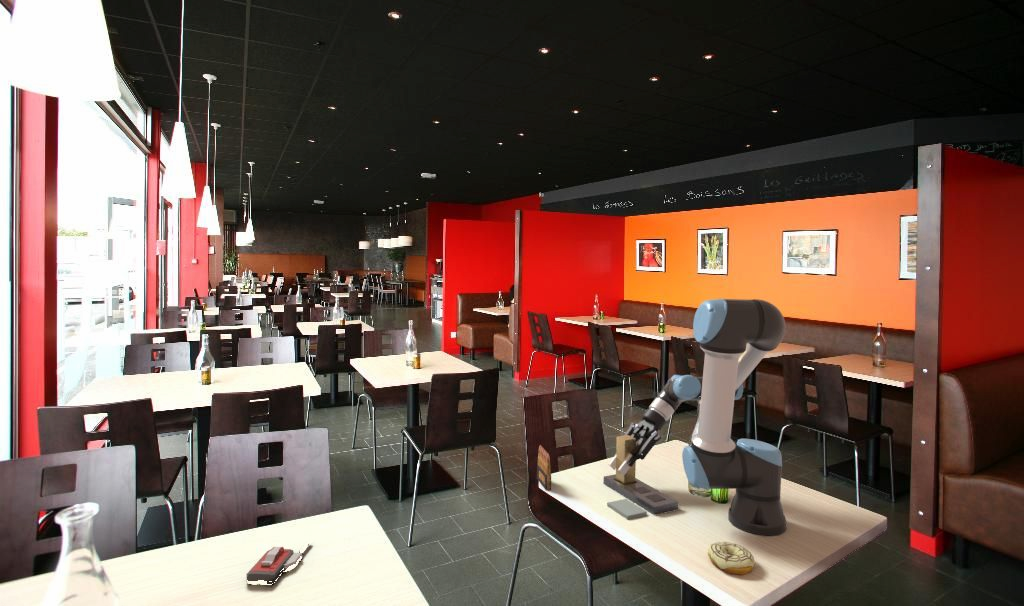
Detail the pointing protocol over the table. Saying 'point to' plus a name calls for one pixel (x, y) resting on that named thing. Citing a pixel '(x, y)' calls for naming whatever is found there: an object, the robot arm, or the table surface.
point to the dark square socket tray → (643, 495)
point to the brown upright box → (544, 469)
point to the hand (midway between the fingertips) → (616, 469)
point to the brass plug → (623, 450)
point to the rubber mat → (626, 509)
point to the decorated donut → (731, 557)
